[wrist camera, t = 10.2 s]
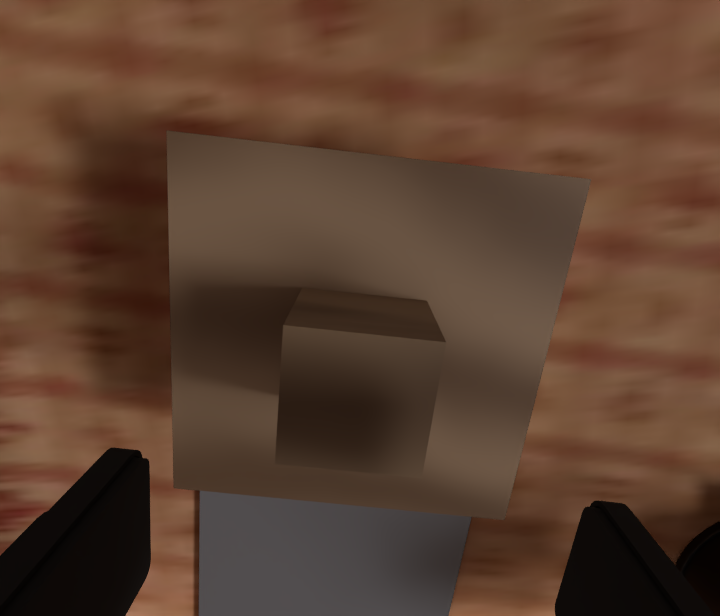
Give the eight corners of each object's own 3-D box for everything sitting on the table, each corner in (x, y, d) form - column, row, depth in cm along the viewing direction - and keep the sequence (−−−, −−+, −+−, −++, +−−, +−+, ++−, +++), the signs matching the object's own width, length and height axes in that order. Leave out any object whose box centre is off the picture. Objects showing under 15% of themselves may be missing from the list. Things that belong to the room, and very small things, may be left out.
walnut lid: (499, 506, 20) (539, 608, 15) (181, 475, 20) (124, 570, 15) (580, 178, 16) (669, 183, 11) (176, 132, 15) (95, 117, 11)
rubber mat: (437, 653, 30) (438, 659, 30) (200, 630, 30) (198, 636, 30) (483, 452, 26) (485, 456, 25) (202, 422, 25) (200, 426, 25)
